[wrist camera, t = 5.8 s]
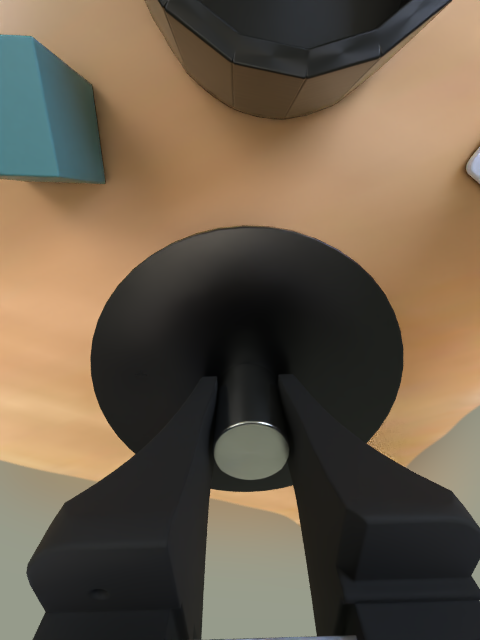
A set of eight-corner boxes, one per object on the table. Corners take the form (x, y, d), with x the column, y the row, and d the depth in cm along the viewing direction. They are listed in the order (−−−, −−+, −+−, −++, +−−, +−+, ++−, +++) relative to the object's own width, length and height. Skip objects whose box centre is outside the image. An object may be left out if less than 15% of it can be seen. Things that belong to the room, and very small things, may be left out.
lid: (454, 320, 12) (567, 381, 8) (290, 501, 17) (308, 601, 13) (170, 151, 10) (120, 111, 6) (66, 420, 14) (-5, 511, 10)
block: (92, 84, 14) (31, 34, 10) (106, 184, 15) (59, 177, 11) (0, 80, 14) (-100, 28, 10) (25, 181, 15) (-52, 173, 11)
